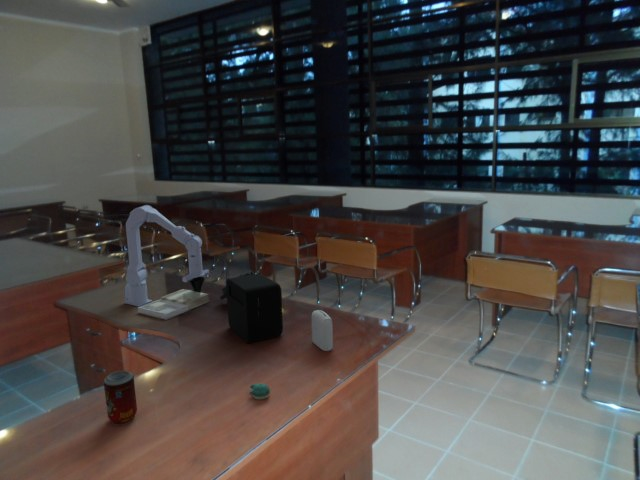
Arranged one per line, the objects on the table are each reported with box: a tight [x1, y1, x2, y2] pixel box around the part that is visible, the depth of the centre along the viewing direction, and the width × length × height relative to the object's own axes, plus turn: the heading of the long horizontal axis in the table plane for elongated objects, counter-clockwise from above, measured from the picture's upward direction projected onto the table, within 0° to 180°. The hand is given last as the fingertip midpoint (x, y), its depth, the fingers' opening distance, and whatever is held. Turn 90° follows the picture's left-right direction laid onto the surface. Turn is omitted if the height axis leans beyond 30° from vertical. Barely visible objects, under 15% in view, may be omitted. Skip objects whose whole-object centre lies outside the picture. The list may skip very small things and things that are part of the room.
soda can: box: [103, 370, 138, 426], centre depth 120 cm, size 7×7×12 cm
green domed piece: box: [249, 383, 271, 401], centre depth 131 cm, size 6×7×4 cm
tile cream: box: [149, 302, 167, 311], centre depth 200 cm, size 5×5×2 cm
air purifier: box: [225, 272, 284, 344], centre depth 174 cm, size 20×15×20 cm
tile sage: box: [183, 290, 200, 300], centre depth 205 cm, size 5×5×2 cm
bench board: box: [160, 288, 210, 311], centre depth 208 cm, size 16×13×4 cm
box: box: [137, 298, 190, 321], centre depth 198 cm, size 17×12×2 cm
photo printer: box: [311, 309, 334, 352], centre depth 161 cm, size 10×4×12 cm, turn 26°
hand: (197, 293), depth 208 cm, fingers closed
